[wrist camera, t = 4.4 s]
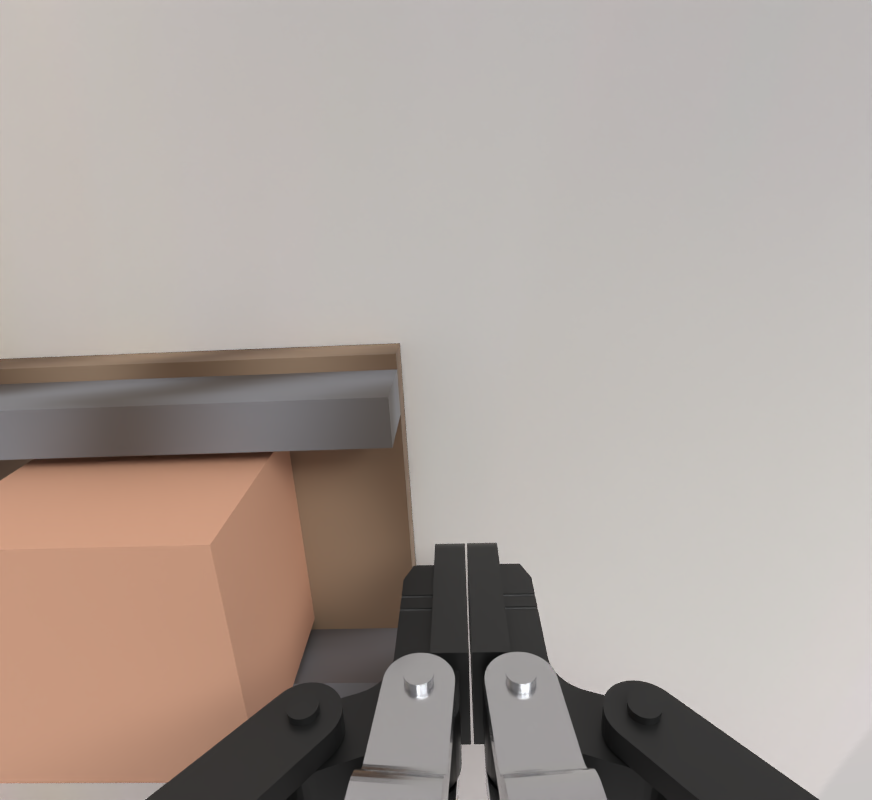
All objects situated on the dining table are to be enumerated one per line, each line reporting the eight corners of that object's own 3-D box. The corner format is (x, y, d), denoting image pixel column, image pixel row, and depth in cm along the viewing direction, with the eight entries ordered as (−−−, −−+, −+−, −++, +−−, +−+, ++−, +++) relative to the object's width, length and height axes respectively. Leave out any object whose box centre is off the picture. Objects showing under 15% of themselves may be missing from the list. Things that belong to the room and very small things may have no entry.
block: (286, 432, 15) (209, 544, 10) (314, 618, 17) (261, 782, 12) (63, 439, 15) (-111, 552, 11) (117, 621, 17) (-8, 783, 13)
